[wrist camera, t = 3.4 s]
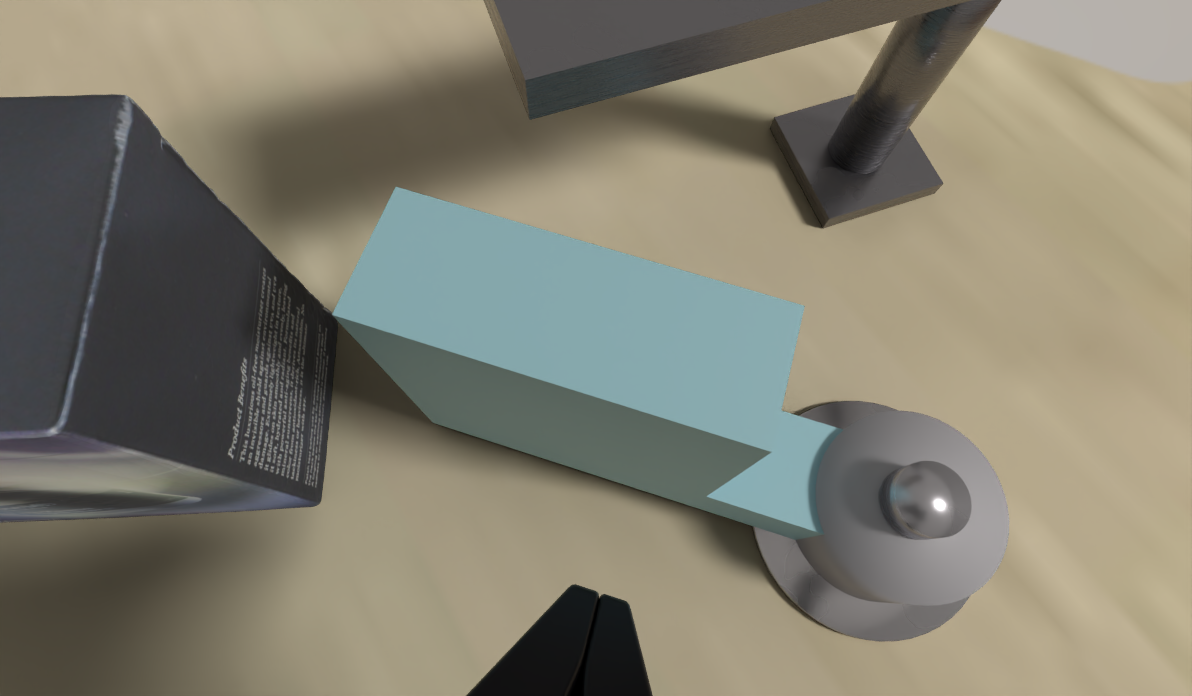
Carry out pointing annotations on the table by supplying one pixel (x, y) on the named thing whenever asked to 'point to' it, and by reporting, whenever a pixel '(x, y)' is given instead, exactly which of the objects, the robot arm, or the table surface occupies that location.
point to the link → (654, 391)
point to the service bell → (912, 507)
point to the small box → (145, 331)
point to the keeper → (745, 32)
